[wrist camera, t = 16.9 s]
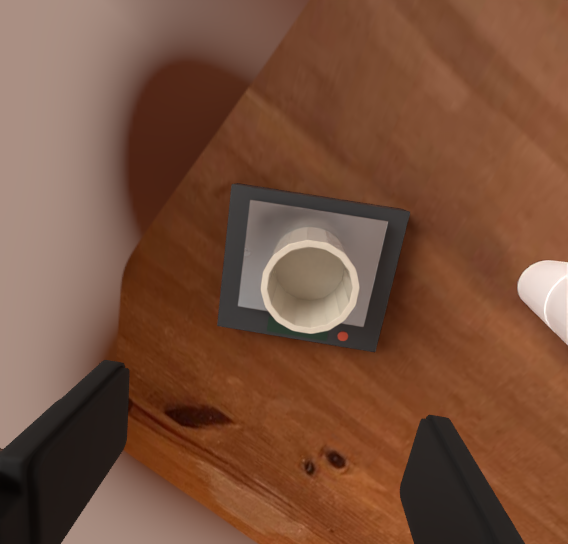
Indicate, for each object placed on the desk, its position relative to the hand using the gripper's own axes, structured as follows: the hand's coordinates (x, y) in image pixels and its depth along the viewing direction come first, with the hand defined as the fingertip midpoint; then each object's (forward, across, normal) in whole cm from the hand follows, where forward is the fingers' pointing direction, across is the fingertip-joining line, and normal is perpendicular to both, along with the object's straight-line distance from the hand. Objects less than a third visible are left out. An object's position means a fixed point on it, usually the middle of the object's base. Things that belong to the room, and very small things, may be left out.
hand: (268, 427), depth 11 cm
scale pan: (+22, -2, 0) cm, 22 cm away
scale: (+25, -2, +1) cm, 25 cm away
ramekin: (+21, -2, 0) cm, 21 cm away
